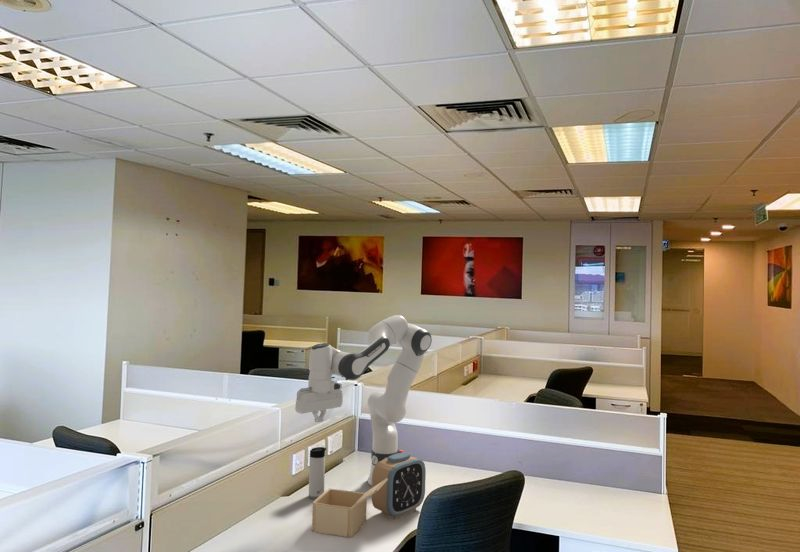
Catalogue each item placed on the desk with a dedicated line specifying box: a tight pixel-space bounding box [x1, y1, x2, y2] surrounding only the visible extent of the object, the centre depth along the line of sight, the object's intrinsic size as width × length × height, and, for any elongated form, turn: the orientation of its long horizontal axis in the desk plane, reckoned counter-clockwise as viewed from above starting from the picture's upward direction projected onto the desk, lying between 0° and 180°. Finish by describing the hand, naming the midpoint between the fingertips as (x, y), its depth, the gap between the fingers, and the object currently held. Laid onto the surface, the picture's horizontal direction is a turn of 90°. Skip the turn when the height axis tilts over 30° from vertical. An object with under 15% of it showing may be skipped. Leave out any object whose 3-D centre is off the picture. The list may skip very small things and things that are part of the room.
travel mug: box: [308, 446, 327, 500], centre depth 233 cm, size 6×7×20 cm
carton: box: [311, 488, 368, 539], centre depth 206 cm, size 16×16×10 cm
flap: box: [354, 478, 388, 506], centre depth 202 cm, size 1×12×10 cm
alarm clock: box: [371, 451, 427, 520], centre depth 219 cm, size 21×10×22 cm, turn 137°
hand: (319, 421), depth 219 cm, fingers closed
